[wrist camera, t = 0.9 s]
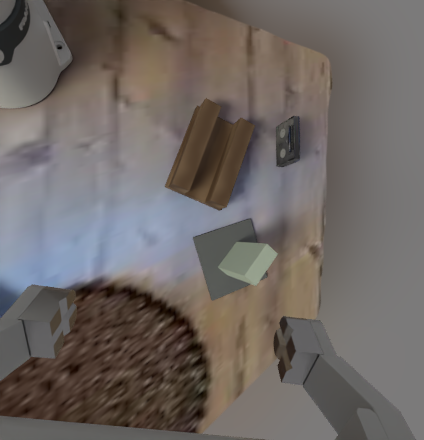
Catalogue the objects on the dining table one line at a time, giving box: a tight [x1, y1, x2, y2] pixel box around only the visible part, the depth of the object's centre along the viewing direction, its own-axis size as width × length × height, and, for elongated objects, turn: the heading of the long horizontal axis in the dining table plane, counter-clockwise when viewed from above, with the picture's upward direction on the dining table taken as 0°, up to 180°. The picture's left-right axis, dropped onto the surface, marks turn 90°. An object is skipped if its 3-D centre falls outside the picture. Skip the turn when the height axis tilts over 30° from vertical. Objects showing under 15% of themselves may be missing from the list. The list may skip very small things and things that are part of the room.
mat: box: [193, 219, 267, 301], centre depth 52 cm, size 12×12×1 cm
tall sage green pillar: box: [218, 242, 277, 286], centre depth 47 cm, size 2×6×11 cm, turn 140°
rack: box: [165, 98, 255, 210], centre depth 49 cm, size 11×16×5 cm
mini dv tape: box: [276, 116, 300, 167], centre depth 54 cm, size 8×2×6 cm, turn 179°
